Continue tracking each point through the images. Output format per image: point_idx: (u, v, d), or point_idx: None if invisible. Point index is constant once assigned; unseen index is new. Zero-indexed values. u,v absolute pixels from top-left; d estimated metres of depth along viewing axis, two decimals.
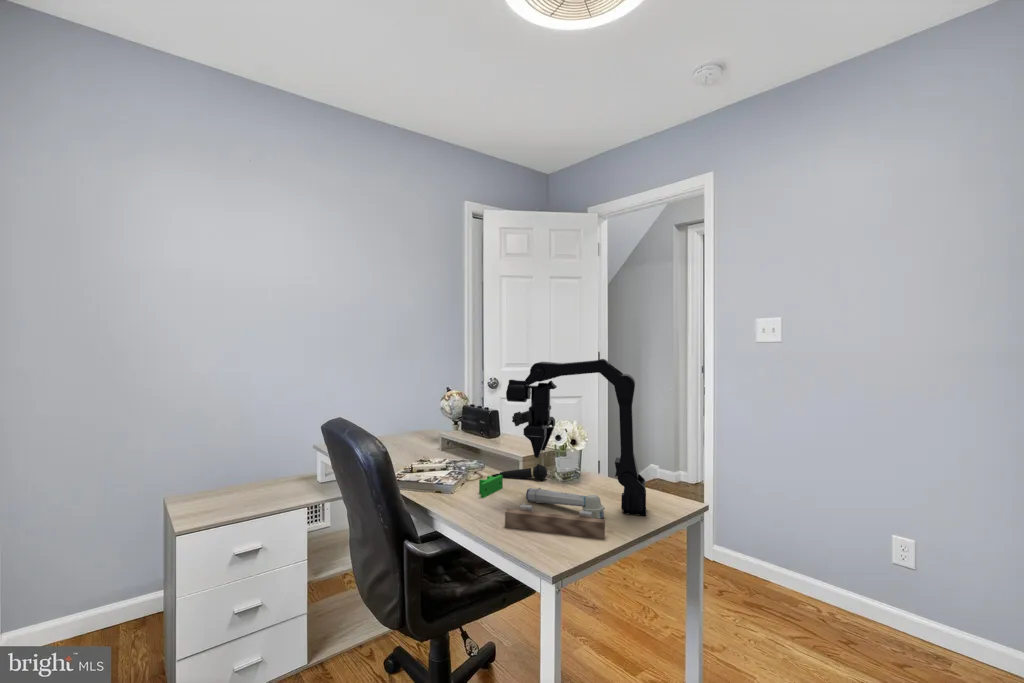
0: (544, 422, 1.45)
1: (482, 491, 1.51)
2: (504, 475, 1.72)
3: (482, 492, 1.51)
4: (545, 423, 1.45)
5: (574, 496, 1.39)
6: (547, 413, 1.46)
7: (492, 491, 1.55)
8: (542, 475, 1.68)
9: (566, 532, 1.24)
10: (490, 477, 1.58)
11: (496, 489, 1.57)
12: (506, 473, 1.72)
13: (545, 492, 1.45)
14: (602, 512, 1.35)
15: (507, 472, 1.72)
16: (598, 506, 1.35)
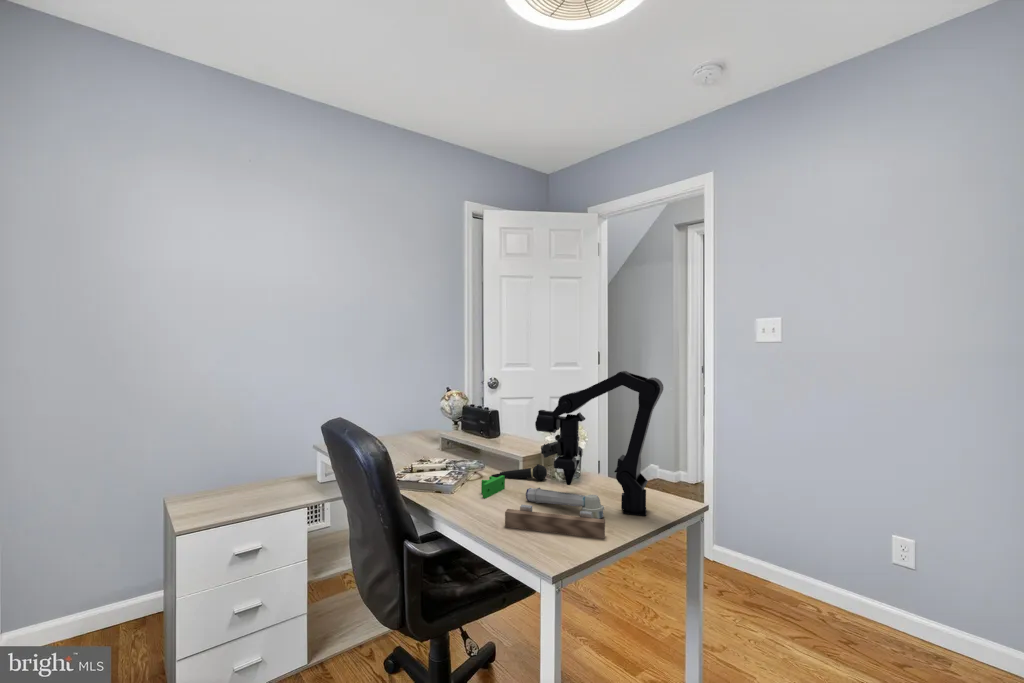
0: (573, 454, 1.46)
1: (484, 492, 1.51)
2: (504, 475, 1.71)
3: (484, 493, 1.51)
4: (574, 455, 1.46)
5: (574, 496, 1.39)
6: (576, 445, 1.47)
7: (494, 492, 1.55)
8: (541, 475, 1.68)
9: (566, 532, 1.24)
10: (492, 477, 1.57)
11: (498, 489, 1.57)
12: (506, 473, 1.72)
13: (545, 492, 1.45)
14: (601, 512, 1.35)
15: (507, 472, 1.72)
16: (598, 506, 1.35)
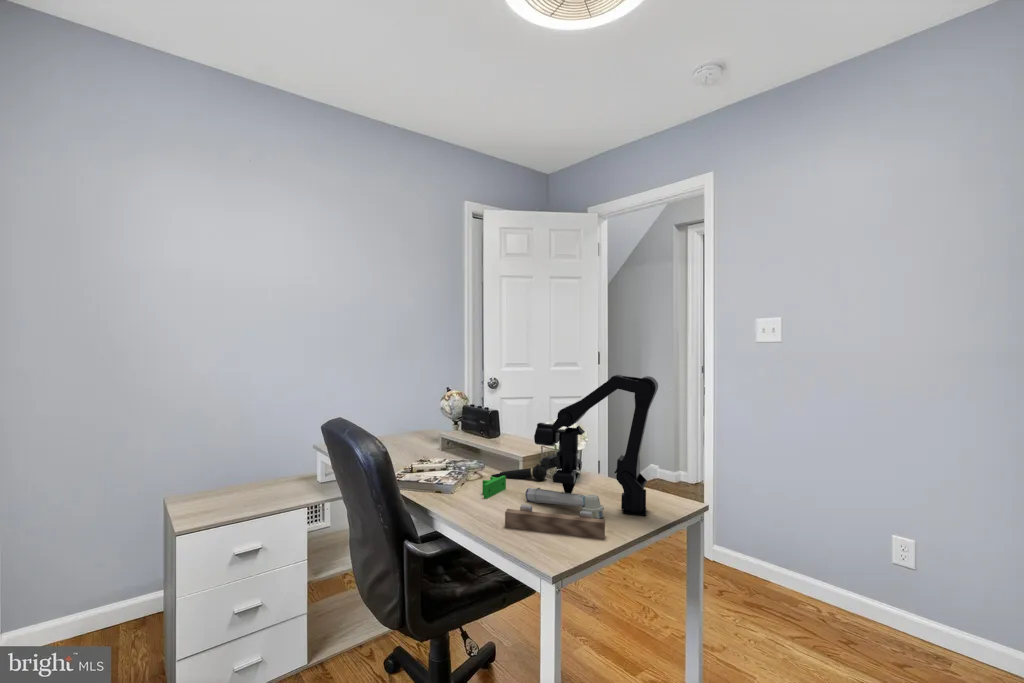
0: (572, 467, 1.45)
1: (485, 492, 1.50)
2: (504, 475, 1.71)
3: (485, 493, 1.50)
4: (573, 468, 1.45)
5: (573, 496, 1.39)
6: (575, 458, 1.46)
7: (495, 492, 1.55)
8: (541, 475, 1.68)
9: (566, 532, 1.24)
10: (493, 478, 1.57)
11: (499, 490, 1.57)
12: (506, 473, 1.72)
13: (544, 492, 1.45)
14: (601, 512, 1.35)
15: (507, 472, 1.72)
16: (597, 506, 1.35)
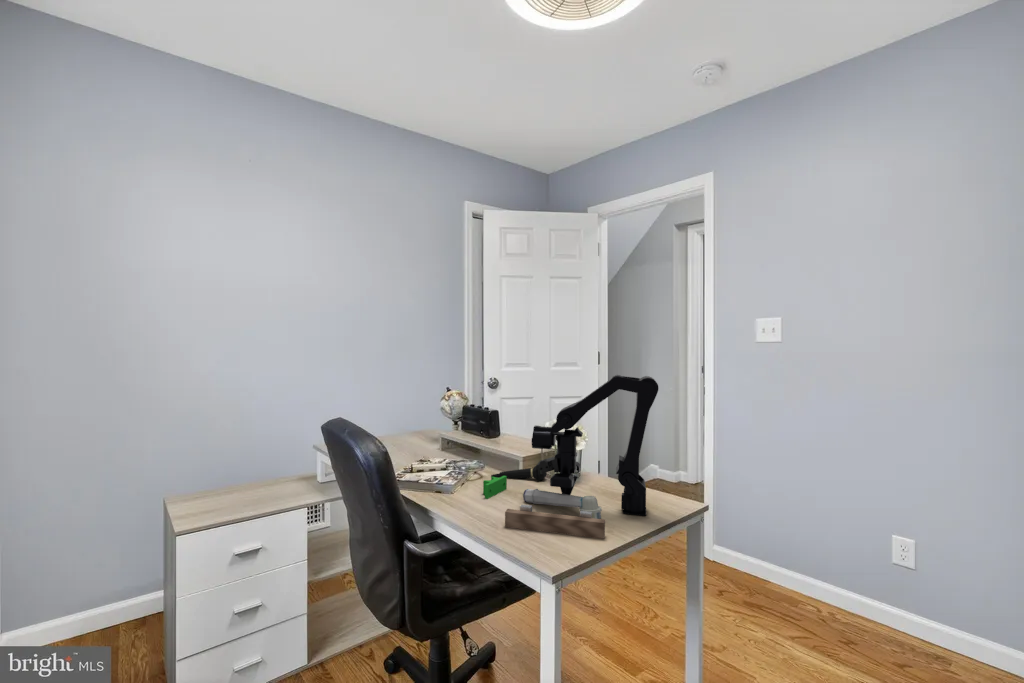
0: (570, 471, 1.42)
1: (486, 492, 1.50)
2: (504, 475, 1.71)
3: (486, 493, 1.50)
4: (571, 472, 1.42)
5: (571, 497, 1.38)
6: (573, 461, 1.43)
7: (496, 492, 1.54)
8: (541, 475, 1.68)
9: (566, 532, 1.24)
10: (494, 478, 1.57)
11: (500, 490, 1.56)
12: (506, 473, 1.72)
13: (542, 493, 1.44)
14: (599, 513, 1.34)
15: (507, 472, 1.72)
16: (595, 507, 1.34)
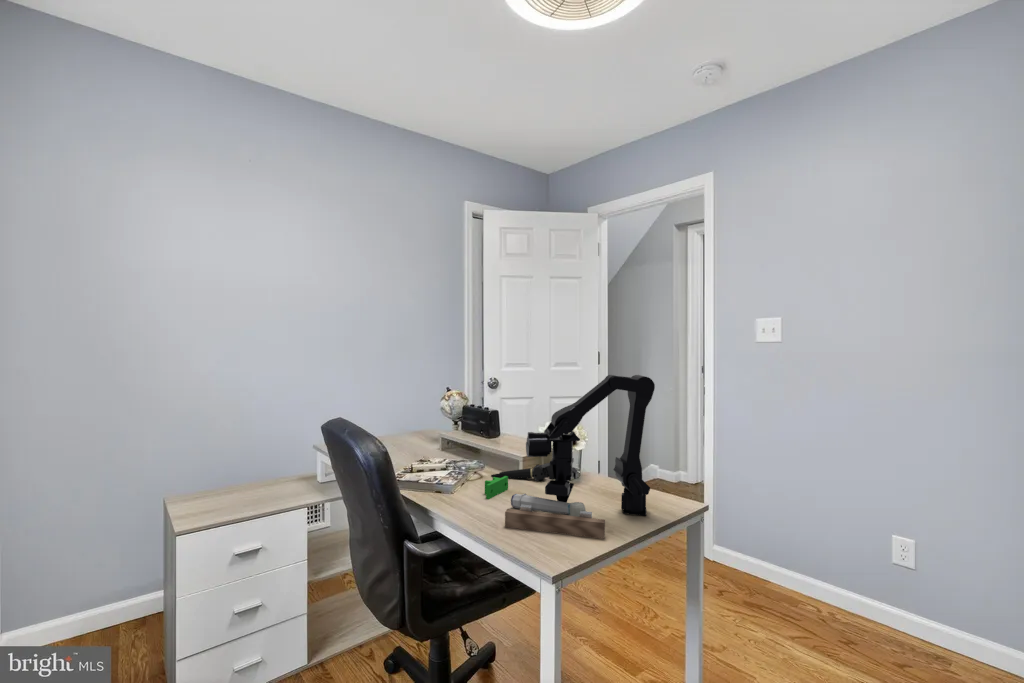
0: (566, 477, 1.35)
1: (488, 492, 1.50)
2: (503, 475, 1.71)
3: (488, 493, 1.50)
4: (568, 479, 1.35)
5: (559, 503, 1.33)
6: (570, 467, 1.36)
7: (497, 492, 1.54)
8: None
9: (566, 532, 1.24)
10: (495, 478, 1.57)
11: (501, 490, 1.56)
12: (505, 473, 1.71)
13: (530, 498, 1.39)
14: None
15: (506, 472, 1.72)
16: None
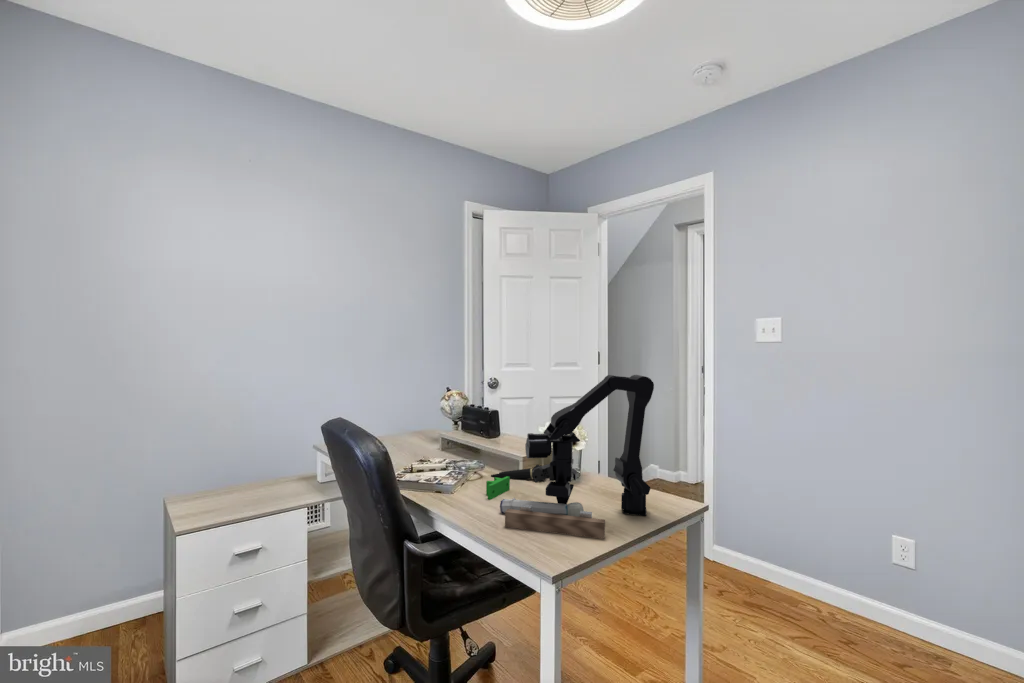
0: (566, 479, 1.34)
1: (489, 493, 1.50)
2: (503, 475, 1.71)
3: (489, 494, 1.50)
4: (568, 480, 1.34)
5: (555, 505, 1.32)
6: (570, 469, 1.35)
7: (499, 493, 1.54)
8: None
9: (566, 532, 1.24)
10: (497, 478, 1.56)
11: (503, 491, 1.56)
12: (505, 473, 1.71)
13: (521, 502, 1.36)
14: None
15: (506, 472, 1.72)
16: None
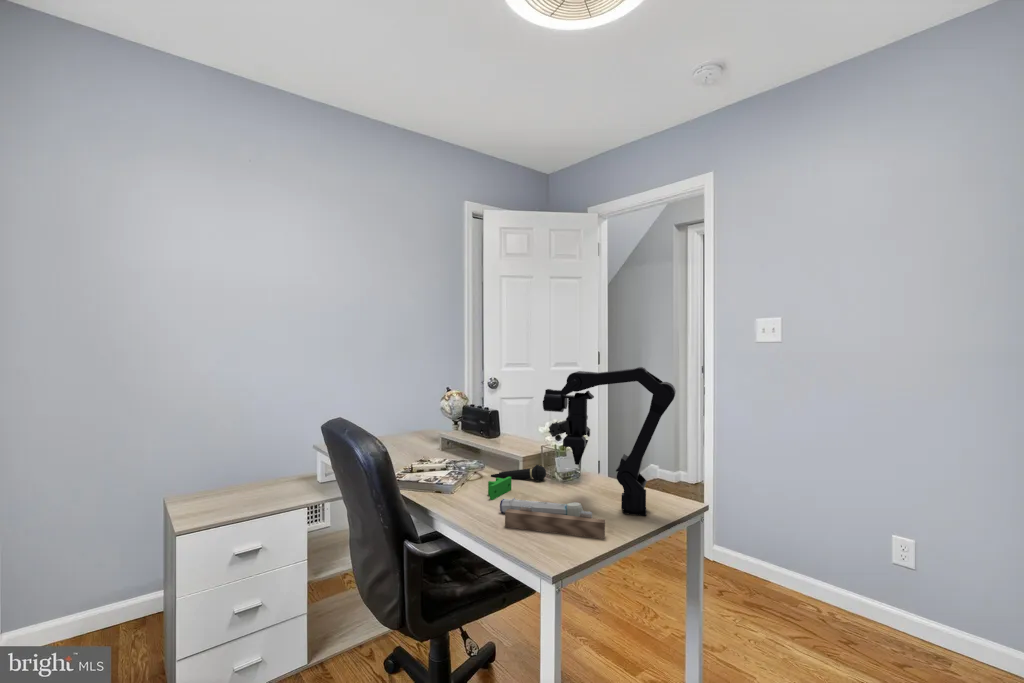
0: (582, 432, 1.44)
1: (491, 493, 1.49)
2: (503, 475, 1.71)
3: (491, 494, 1.49)
4: (583, 433, 1.43)
5: (554, 505, 1.32)
6: (585, 423, 1.44)
7: (501, 493, 1.53)
8: (540, 475, 1.67)
9: (566, 532, 1.24)
10: (499, 479, 1.56)
11: (505, 491, 1.55)
12: (505, 473, 1.71)
13: (521, 502, 1.36)
14: None
15: (506, 472, 1.71)
16: None
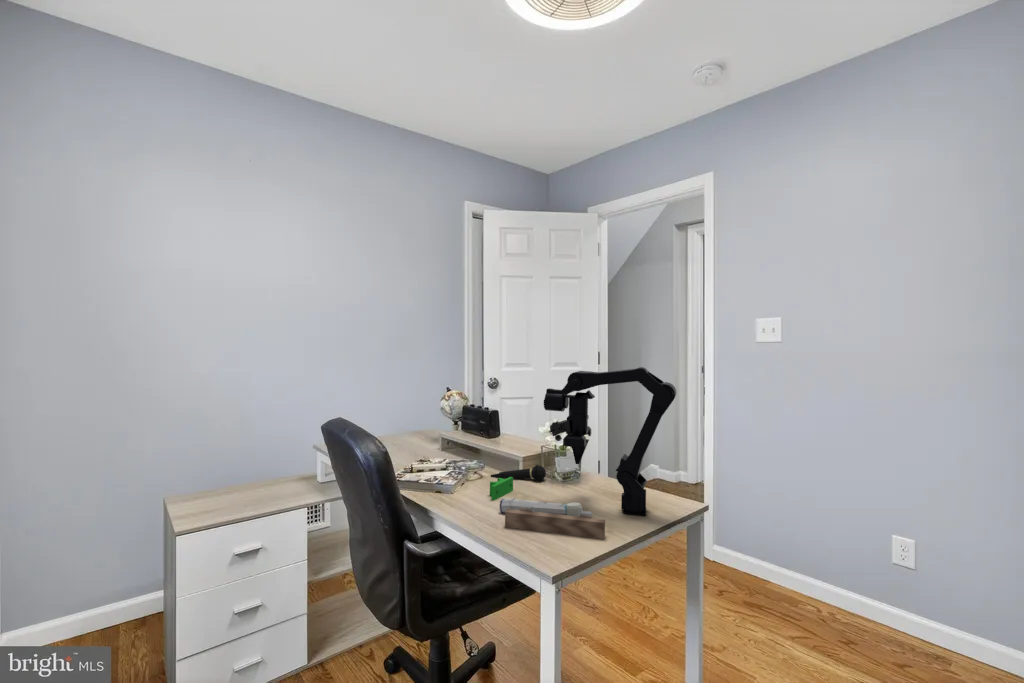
0: (582, 432, 1.44)
1: (493, 493, 1.49)
2: (503, 475, 1.71)
3: (493, 494, 1.49)
4: (583, 433, 1.44)
5: (554, 505, 1.32)
6: (585, 423, 1.45)
7: (503, 493, 1.53)
8: (540, 475, 1.67)
9: (566, 532, 1.24)
10: (500, 479, 1.56)
11: (507, 491, 1.55)
12: (505, 473, 1.71)
13: (521, 502, 1.36)
14: None
15: (506, 472, 1.71)
16: None
